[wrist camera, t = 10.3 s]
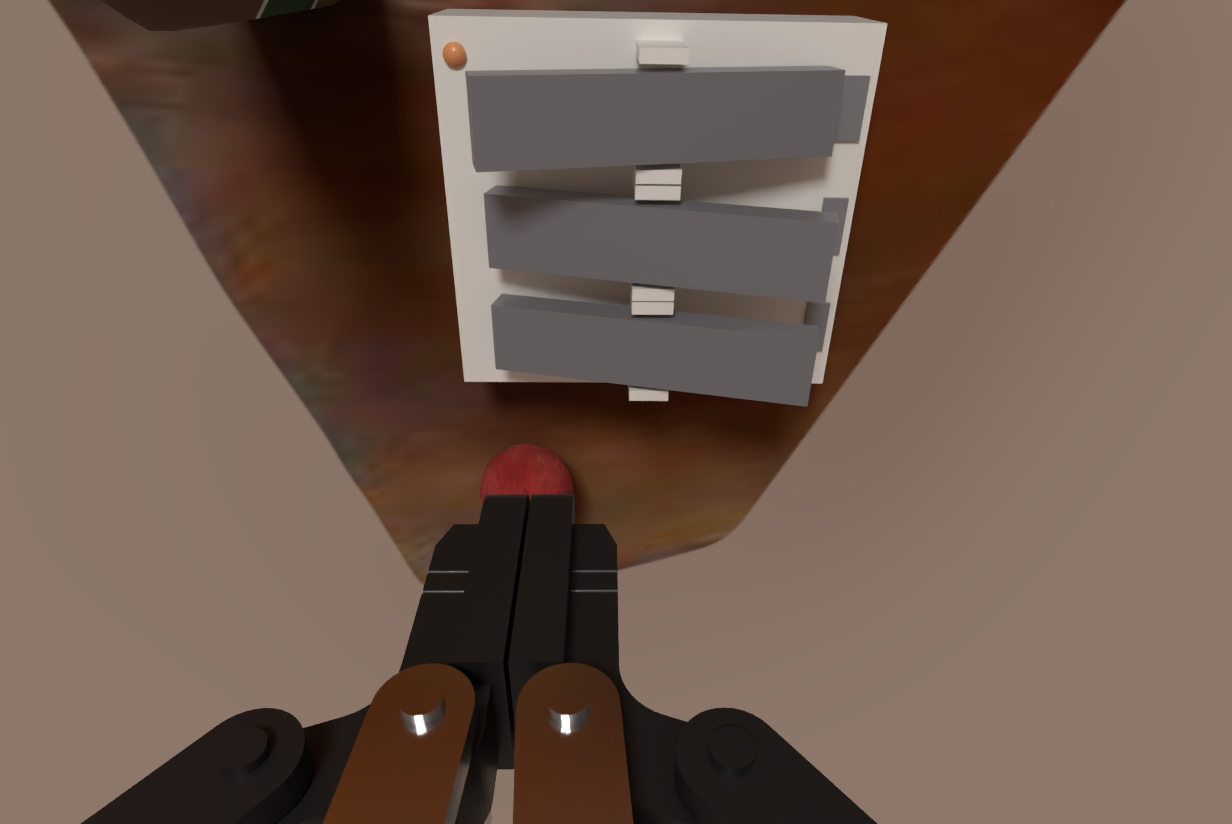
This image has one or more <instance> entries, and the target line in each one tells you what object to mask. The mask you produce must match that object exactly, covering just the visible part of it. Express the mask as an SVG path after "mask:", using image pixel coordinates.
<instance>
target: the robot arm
mask: <svg viewBox="0 0 1232 824" xmlns="http://www.w3.org/2000/svg"><path fill="white" fill-rule="evenodd" d="M617 590H618V587H617V544H616V543H615V541H614V539H613V538H612V536H611V535H610V533H609V531H608V530H607V528H606V526H605V525H604V524H575V501H574V494H532V495H531V500H530V496H529V494H487V495H486V496H485V498H484V503H483V507H482V512H481V516H480V521H479V524H454V525H453V526H452V527H451V529H450V530H449V531H448V532H447V533H446V534H445V535H444V537H443V538H442V539H441V540H440V541H439V542H438V543H437V544H436V546H435V550H434V553H433V557H432V560H431V564H430V567H429V574H427V578H426V581H425V585H424V588H423V594H422V595H421V599H420V602H419V606H418V609H417V612H416V616H415V619H414V623H413V627H412V630H411V633H410V637H409V641H408V644H407V648H406V651H405V655H404V658H403V662H402V665H401V668H400V670H399V673H397V674H396V675H394V676H393V677H391V678H390V679H389V680H387V681H386V682H385V683H384V684H383V685H382V686H381V687H380V689H379V690H378V691H377V693H376V694H375V696H374V698H373V700H372V702H371V704H370V705H368V706H366V707H365V708H363V709H361V710H359V711H357V712H355V713H352V714H350V715H347V716H344V717H341V718H337V719H334V720H330V721H327V722H323V723H320V724H316V725H313V726H309V727H306V728H302V726H301V724H300V722H299V721H298V720H297V719H296V718H295V717H294V716H293V715H291V714H290V713H287V712H285V711H283V710H279V709H274V708H262V709H254V710H250V711H246V712H243V713H240V714H237V715H235V716H233V717H231V718H229V719H227V720H225V721H224V722H222V723H221V724H219V725H217V726H216V727H215V728H213V729H212V730H210V731H209V732H208V733H206V734H205V735H203V736H202V737H201V738H199V739H198V740H196V741H195V742H194V743H192V744H191V745H190V746H188V747H187V748H185V749H184V750H183V751H181V752H180V753H179V754H177V755H176V756H174V757H173V758H171V759H170V760H169V761H167V762H166V763H164V764H163V765H162V766H160V767H159V768H158V769H156V770H155V771H153V772H152V773H151V774H149V775H148V776H146V777H145V778H144V779H142V780H141V781H139V782H138V783H137V784H135V785H134V786H133V787H131V788H130V789H128V790H127V791H126V792H124V793H123V794H121V795H120V796H119V797H117V798H116V799H115V800H113V801H112V802H110V803H109V804H107V805H106V806H105V807H103V808H102V809H101V810H99V811H98V812H96V813H95V814H94V815H92V816H91V817H89V818H88V819H87V820H85V821H84V822H82V823H81V824H491V819H492V817H491V806H492V802H493V795H494V788H495V780H496V772H497V769H514V799H513V824H877V823H876V822H875V821H874V820H873V819H871V818H870V817H869V816H868V815H867V814H866V813H865V812H864V811H863V810H861V809H860V808H859V807H858V806H857V805H856V804H855V803H854V802H853V801H852V800H850V799H849V798H848V797H847V796H846V795H845V794H844V793H843V792H842V791H841V790H839V789H838V788H837V787H836V786H835V785H834V784H833V783H832V782H831V781H829V780H828V779H827V778H826V777H825V776H824V775H823V774H822V773H821V772H820V771H819V770H817V769H816V768H815V767H814V766H813V765H812V764H811V763H810V762H809V761H807V760H806V759H805V758H804V757H803V756H802V755H801V754H800V753H799V752H798V751H796V750H795V749H794V748H793V747H792V746H791V745H790V744H789V743H787V742H786V741H785V740H784V739H783V738H782V737H781V736H780V735H779V734H778V733H777V732H775V731H774V730H773V729H772V728H771V727H770V726H769V725H768V724H766V723H765V722H764V721H763V720H761V719H760V718H758V717H756V716H754V715H753V714H750V713H748V712H745V711H742V710H738V709H734V708H715V709H711V710H707V711H704V712H701V713H699V714H698V715H696V716H694V717H693V718H692V719H691V720H689V722H685V721H682V720H679V719H675V718H672V717H669V716H666V715H662V714H660V713H657V712H654V711H652V710H650V709H649V708H647V707H645V706H644V705H642V704H641V703H640V702H638V701H637V700H636V699H635V698H634V697H633V696H632V695H631V694H630V693H629V691H628V690H627V689H626V687H625V685H624V683H623V681H622V678H621V675H620V671H619V644H618V591H617Z"/></svg>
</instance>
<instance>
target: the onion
mask: <svg viewBox="0 0 1232 824" xmlns="http://www.w3.org/2000/svg"><path fill="white" fill-rule="evenodd" d="M573 492H574V484H573V481H572V478H571V475H570V472H569V470H568V467H567V465H566V464H565V463H564V462H563V461H562V459H561V458H560V457H559V456H558V455H557V454H556V453H554V452H553V451H551V450H549V449H547V448H545V447H544V446H542V445H537V444H531V443H524V444H517V445H512V446H511V447H509V448H507V449H505V450H503V451H501V452H500V453H498V454H497V455H495V456H494V458H493V459H492V460H491V462H490V463H489V464H488V466H487V467H486V469H485V471H484V473H483V476H482V482H481V487H480V498H481V501H482V504H483V503H484V498H485V496H486V495H487V494H529V496H530V500H531V495H532V494H573Z"/></svg>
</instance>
